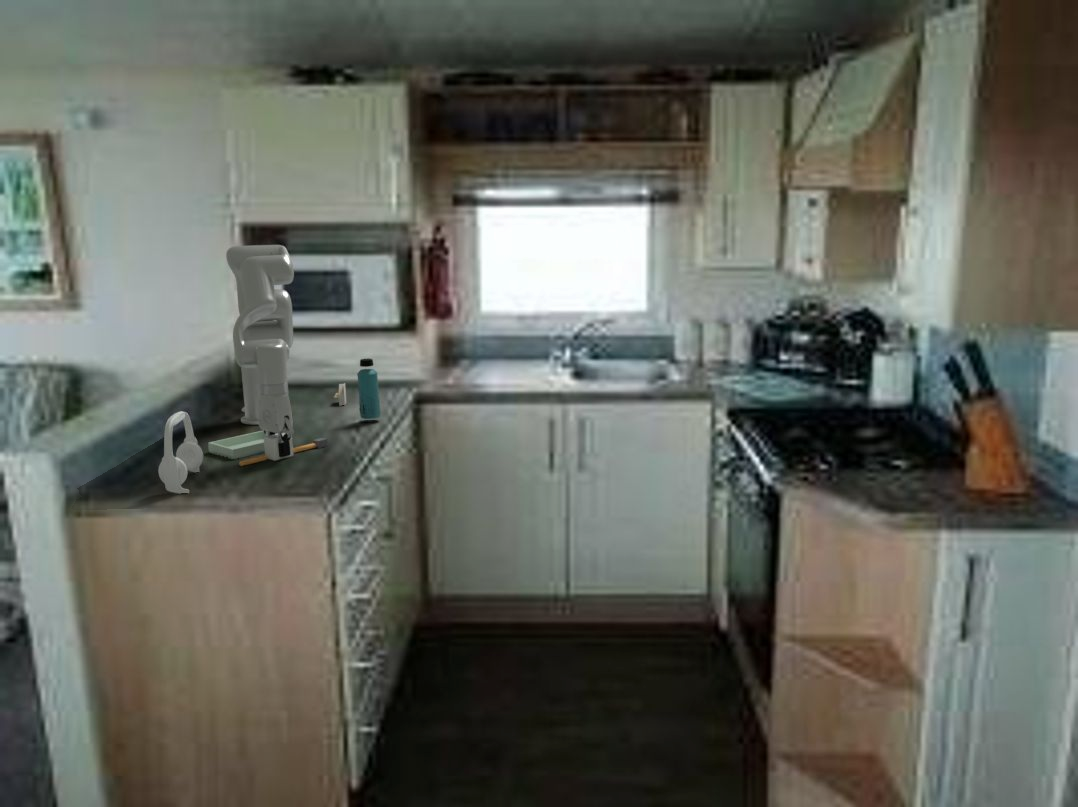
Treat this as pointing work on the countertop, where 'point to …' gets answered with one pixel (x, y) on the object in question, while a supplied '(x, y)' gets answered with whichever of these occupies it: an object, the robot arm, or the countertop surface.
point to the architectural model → (341, 394)
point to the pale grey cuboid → (275, 447)
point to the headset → (179, 455)
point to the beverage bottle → (368, 391)
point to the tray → (239, 445)
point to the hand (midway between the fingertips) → (279, 453)
